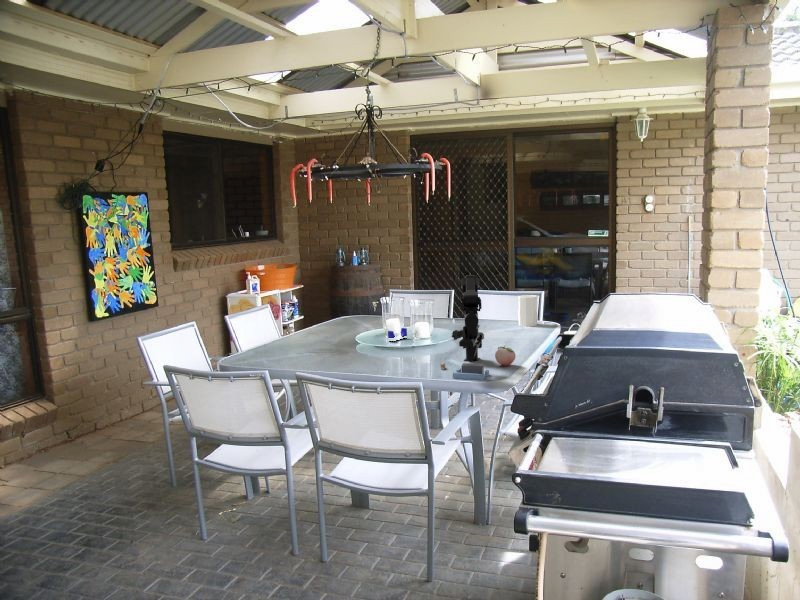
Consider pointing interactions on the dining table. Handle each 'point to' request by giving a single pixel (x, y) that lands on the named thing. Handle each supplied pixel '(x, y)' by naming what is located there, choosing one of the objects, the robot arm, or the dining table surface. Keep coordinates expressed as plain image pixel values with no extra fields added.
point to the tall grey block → (472, 368)
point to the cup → (527, 310)
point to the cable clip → (403, 333)
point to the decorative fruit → (505, 356)
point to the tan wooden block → (442, 366)
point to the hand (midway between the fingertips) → (472, 358)
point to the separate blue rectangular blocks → (469, 375)
